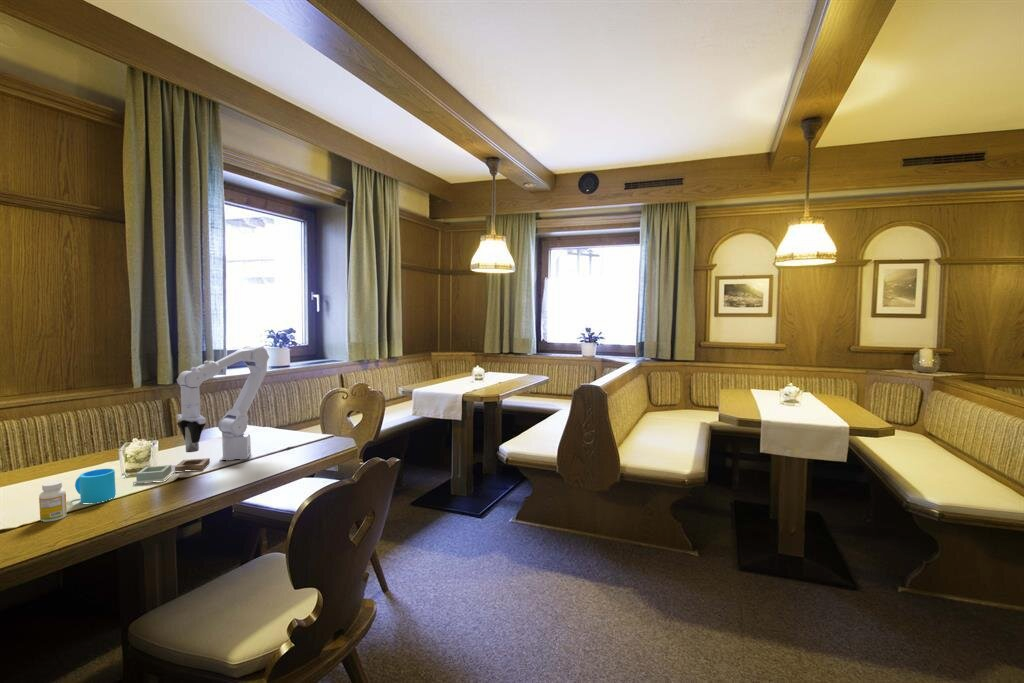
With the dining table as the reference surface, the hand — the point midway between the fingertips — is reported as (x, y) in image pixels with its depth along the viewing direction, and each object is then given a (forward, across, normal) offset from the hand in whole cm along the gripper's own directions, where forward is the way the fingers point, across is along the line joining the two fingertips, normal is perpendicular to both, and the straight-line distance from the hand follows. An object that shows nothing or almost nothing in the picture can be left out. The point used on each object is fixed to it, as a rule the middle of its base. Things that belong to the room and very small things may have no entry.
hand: (192, 441), depth 181 cm
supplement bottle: (+10, +13, -44) cm, 47 cm away
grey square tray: (+10, +1, -13) cm, 16 cm away
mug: (+10, +5, -32) cm, 34 cm away
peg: (+3, 0, 0) cm, 3 cm away
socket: (+10, 0, 0) cm, 10 cm away
